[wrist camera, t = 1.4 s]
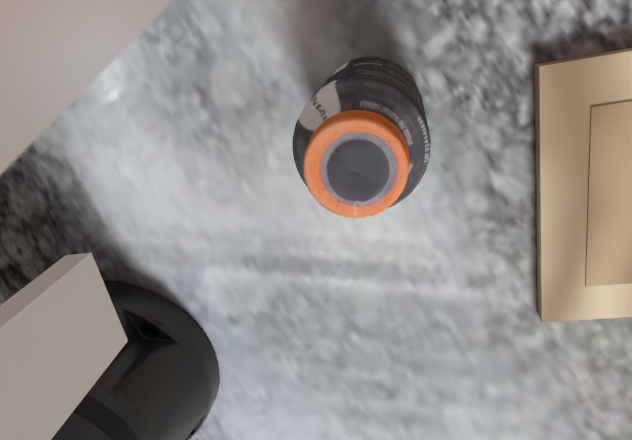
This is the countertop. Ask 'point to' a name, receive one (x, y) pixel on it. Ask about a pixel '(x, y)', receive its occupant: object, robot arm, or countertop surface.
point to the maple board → (584, 186)
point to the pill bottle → (363, 138)
